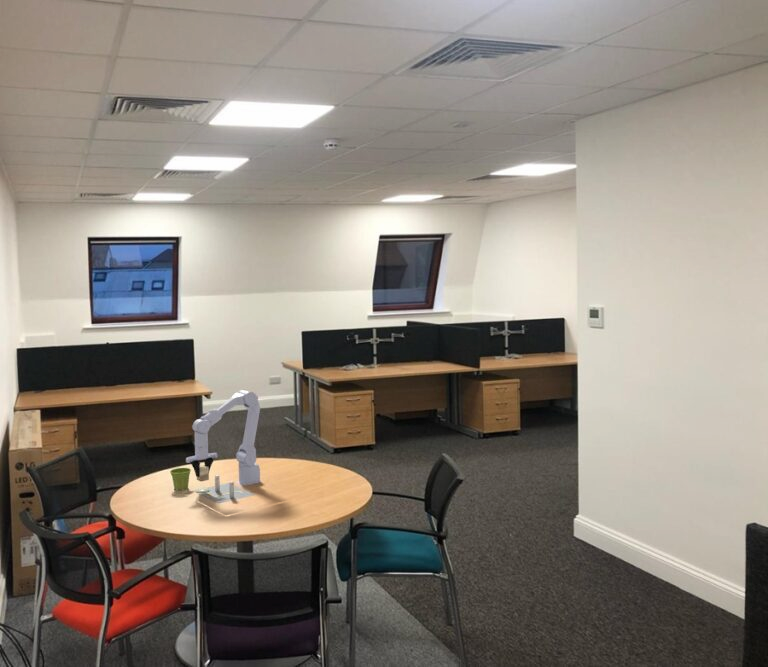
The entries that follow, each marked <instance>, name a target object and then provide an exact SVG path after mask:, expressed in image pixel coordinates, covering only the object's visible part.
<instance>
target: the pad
mask: <svg viewBox="0 0 768 667" xmlns="http://www.w3.org/2000/svg"><path fill="white" fill-rule="evenodd" d="M195 490H196V492H195V493H197V494H199V493H206V492H209V491H210V489H208V487H205V488H203V487H202V488H198V489H195Z"/></svg>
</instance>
